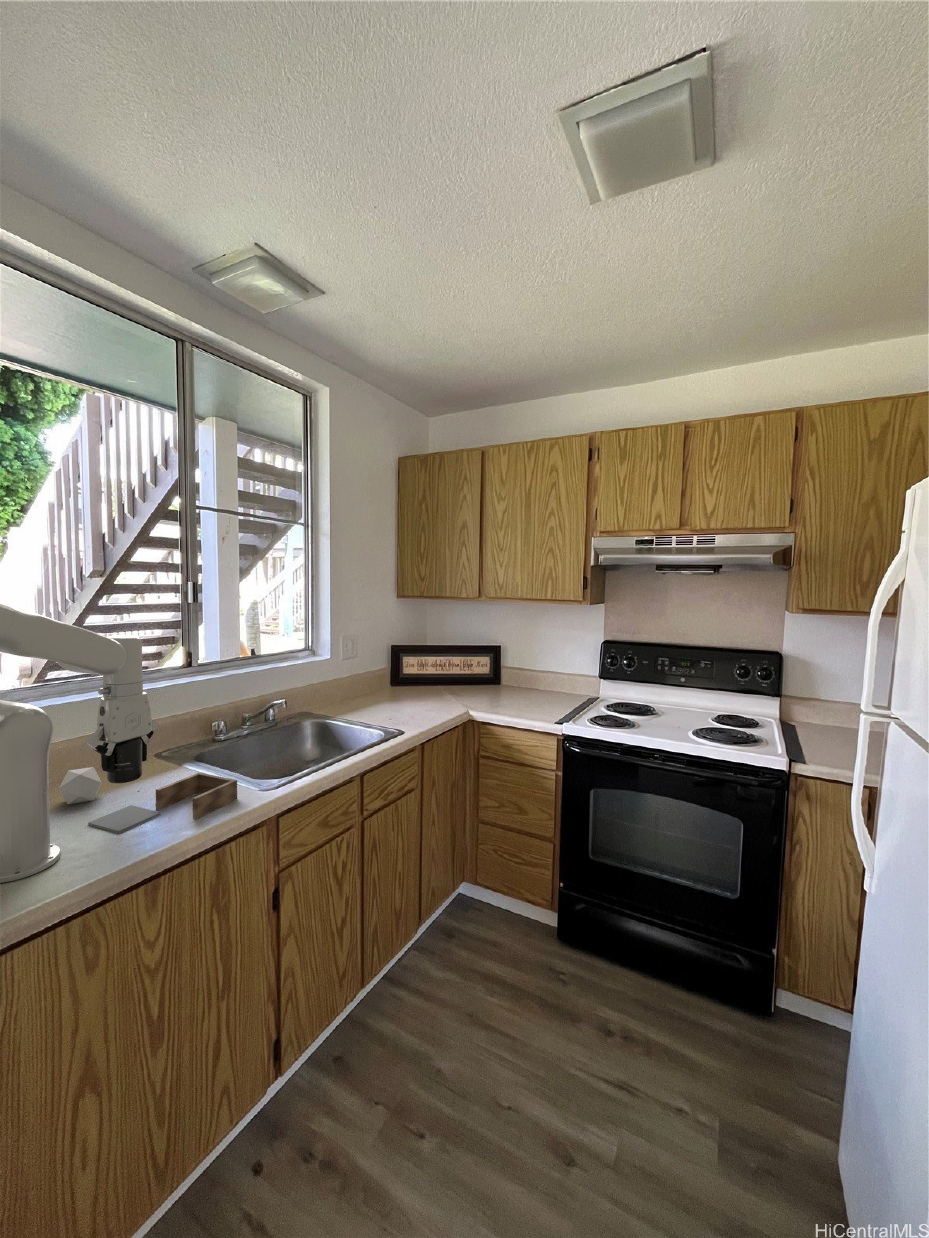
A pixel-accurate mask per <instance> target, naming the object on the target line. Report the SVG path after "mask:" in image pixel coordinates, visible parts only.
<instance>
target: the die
mask: <svg viewBox="0 0 929 1238" xmlns="http://www.w3.org/2000/svg"><path fill="white" fill-rule="evenodd" d="M102 783H103V782H102V781H101V779H100V776H99V774H98V773H97V770H96V769H95V767H94V766H92V767H90V766H89V767H84V768H78V769H69V770H68V771H67V773H65V776H64V778H63V780H62V781H61V784H60V786H59V787H58V790H59V791H60V793H61V795H62V797H63V798H64V800H65V802H66V805H73V804H79V803H85V802H91V801H94V800H95V798H96V795H97V793H98V792H99V789H100V787H101V785H102Z"/></svg>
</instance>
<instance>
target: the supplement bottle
mask: <svg viewBox="0 0 929 1238" xmlns="http://www.w3.org/2000/svg"><path fill="white" fill-rule="evenodd" d="M107 747H108V746H107ZM112 754H114V755H115V771H114V772H112V773H111V772H106V780H107V782H108V783H111V784H127V783H131V782H134V781H137V780H139V779H140V778H141V777H142V776H143V761H142V740H141V738H139V737H137V738H134V739H130V740H127V741H123V742H120V743H116V744H115V747H114V749H113V751H112Z"/></svg>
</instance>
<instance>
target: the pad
mask: <svg viewBox="0 0 929 1238" xmlns="http://www.w3.org/2000/svg"><path fill="white" fill-rule="evenodd" d="M161 815H162V813H161V812H160V811H158V810H152V809H148V808H145V807H141V806H136V805H128V806H125V807H123V808H120V809H118V810H116V811H113V812H111V813H108V814H105V815H102V816H101V817H99V818H96V819H93V820H91V821H89V822H88V824H87V825H88V826H90V827H94V828H98V829H102V830H104V831H107V832H108V831H109V832H112V833H115V834H122V833H123V832H126V831H128V830H131V829H133V828H135V827H137V826H139V825H141V824H144V823H146V822H148V821H150V820H152V819H155V818H157V817H159V816H161Z"/></svg>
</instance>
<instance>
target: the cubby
mask: <svg viewBox="0 0 929 1238" xmlns="http://www.w3.org/2000/svg"><path fill="white" fill-rule="evenodd" d="M197 794H198V795H197ZM195 795H196V796H195ZM193 796H194V797H193ZM190 797H192V820H198V819H200V818H202V817H204V816H207V815H209V814H211V812H214V811H216V810H218V809H220V808H223V807H224V806H227V805H228V804H231V803H232V802H235V801H236V800H238V780H237V779H233V778H229V777H223V776H218V775H214V774H208V773H203V772H197V773H194V774H191V775H189V776H187V777H184V778H180V779H179V780H177V781H174V782H171V783H169V784H166V785H164V786H161V787H159V788H155V811H161V810H163V809H166V808H168V807H170V806H172V805H175V804H177V803H179V802H181V801H184V800H185V799H188V798H190Z"/></svg>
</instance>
